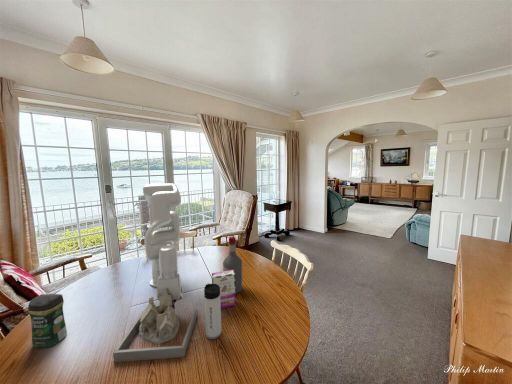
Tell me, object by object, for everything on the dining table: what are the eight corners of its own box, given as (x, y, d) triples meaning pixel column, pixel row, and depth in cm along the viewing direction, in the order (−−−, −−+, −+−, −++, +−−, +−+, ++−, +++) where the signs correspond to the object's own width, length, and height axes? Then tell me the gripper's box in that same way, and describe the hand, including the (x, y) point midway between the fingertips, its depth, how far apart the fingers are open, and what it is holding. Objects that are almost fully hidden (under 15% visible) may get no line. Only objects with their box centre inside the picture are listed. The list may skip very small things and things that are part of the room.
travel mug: (214, 325, 88) (212, 280, 86) (224, 332, 84) (223, 286, 82) (202, 334, 83) (200, 287, 82) (212, 342, 79) (210, 293, 77)
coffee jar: (27, 349, 77) (21, 302, 76) (49, 332, 85) (44, 290, 84) (52, 349, 77) (46, 302, 75) (71, 333, 85) (67, 290, 83)
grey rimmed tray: (143, 318, 93) (142, 311, 92) (197, 315, 95) (196, 308, 94) (113, 362, 71) (113, 352, 71) (184, 356, 73) (183, 347, 73)
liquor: (230, 296, 109) (229, 241, 106) (222, 289, 116) (220, 237, 113) (244, 290, 114) (243, 237, 112) (235, 283, 121) (234, 234, 119)
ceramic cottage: (142, 320, 92) (140, 289, 89) (181, 314, 96) (180, 285, 94) (130, 351, 77) (128, 315, 75) (177, 343, 81) (176, 308, 79)
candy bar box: (234, 300, 106) (233, 269, 104) (236, 306, 101) (235, 274, 99) (212, 303, 103) (211, 272, 101) (213, 310, 98) (212, 277, 96)
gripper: (148, 278, 89) (150, 318, 90) (183, 276, 90) (185, 316, 92) (155, 270, 96) (157, 307, 98) (188, 268, 97) (189, 305, 99)
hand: (171, 311), depth 95 cm, fingers closed
